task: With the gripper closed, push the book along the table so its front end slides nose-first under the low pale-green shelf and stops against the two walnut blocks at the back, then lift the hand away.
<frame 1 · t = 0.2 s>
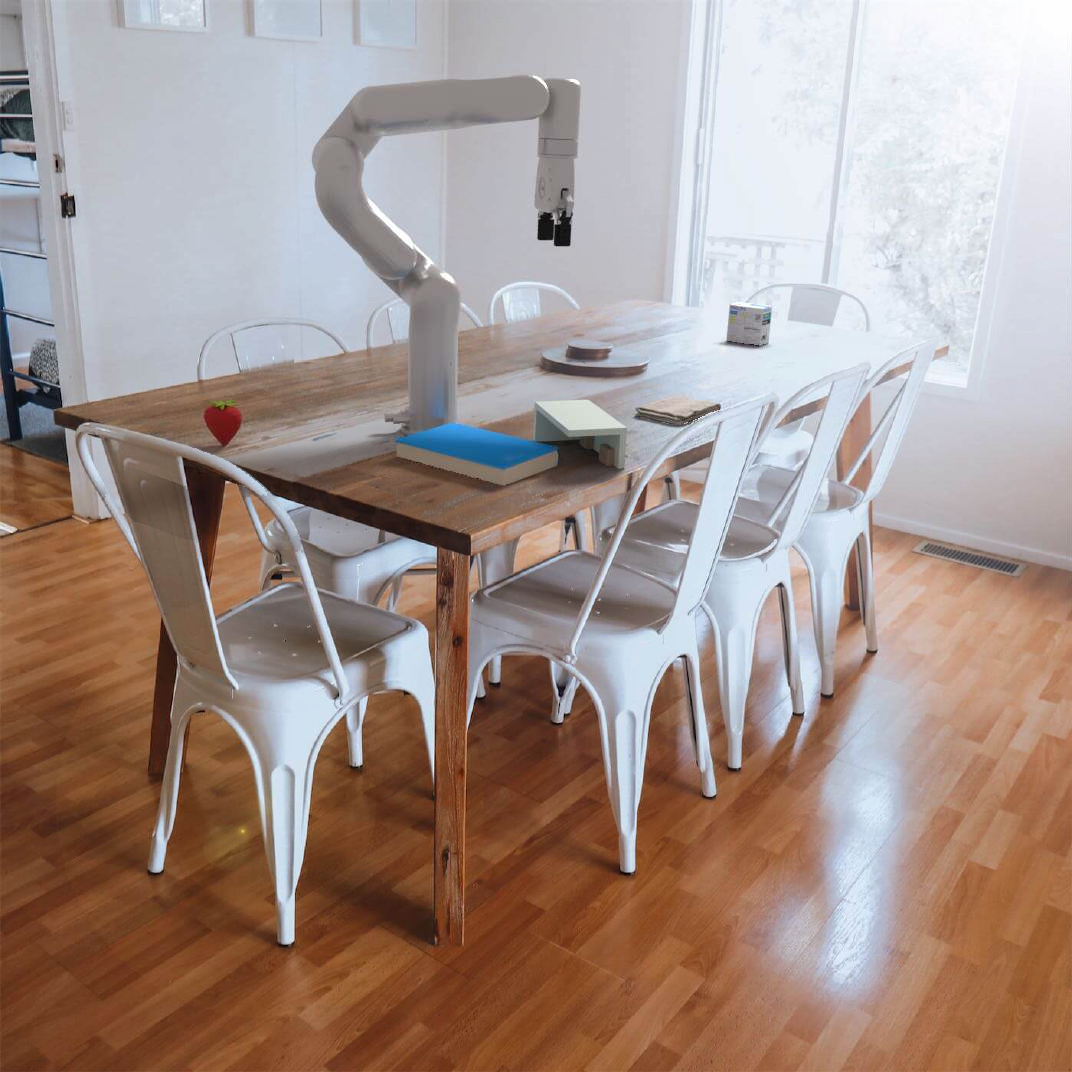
hand: (553, 243, 217), 36 cm above the table, tool pointing down, fingers open, 9 cm apart
book: (477, 464, 207), on the table
washcloth: (677, 417, 244), on the table
light bulb box: (747, 343, 325), on the table
strawberry: (224, 446, 210), on the table
shelf: (577, 454, 213), on the table
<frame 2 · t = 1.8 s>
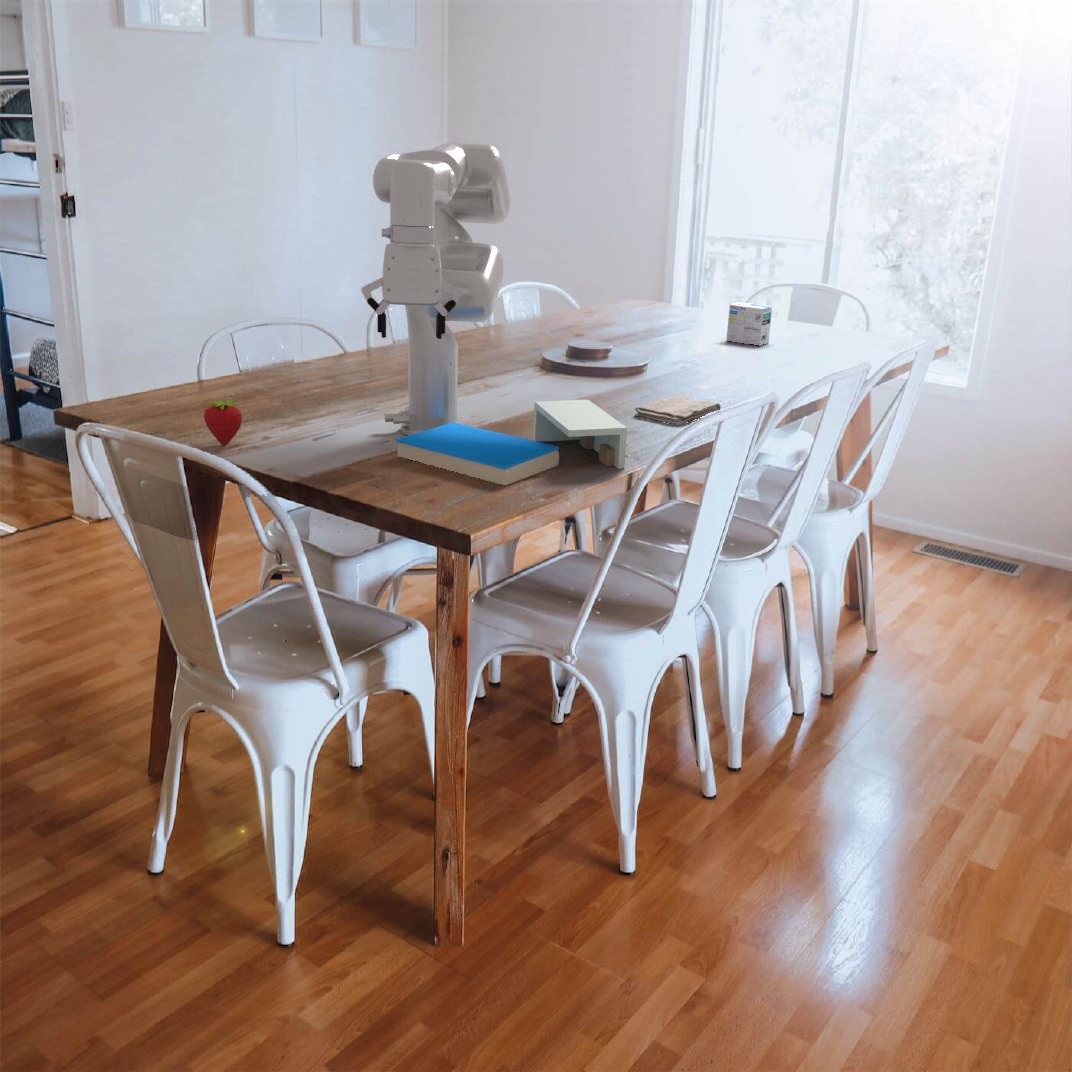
hand: (411, 337, 198), 22 cm above the table, tool pointing down, fingers open, 9 cm apart
nothing on the table moved.
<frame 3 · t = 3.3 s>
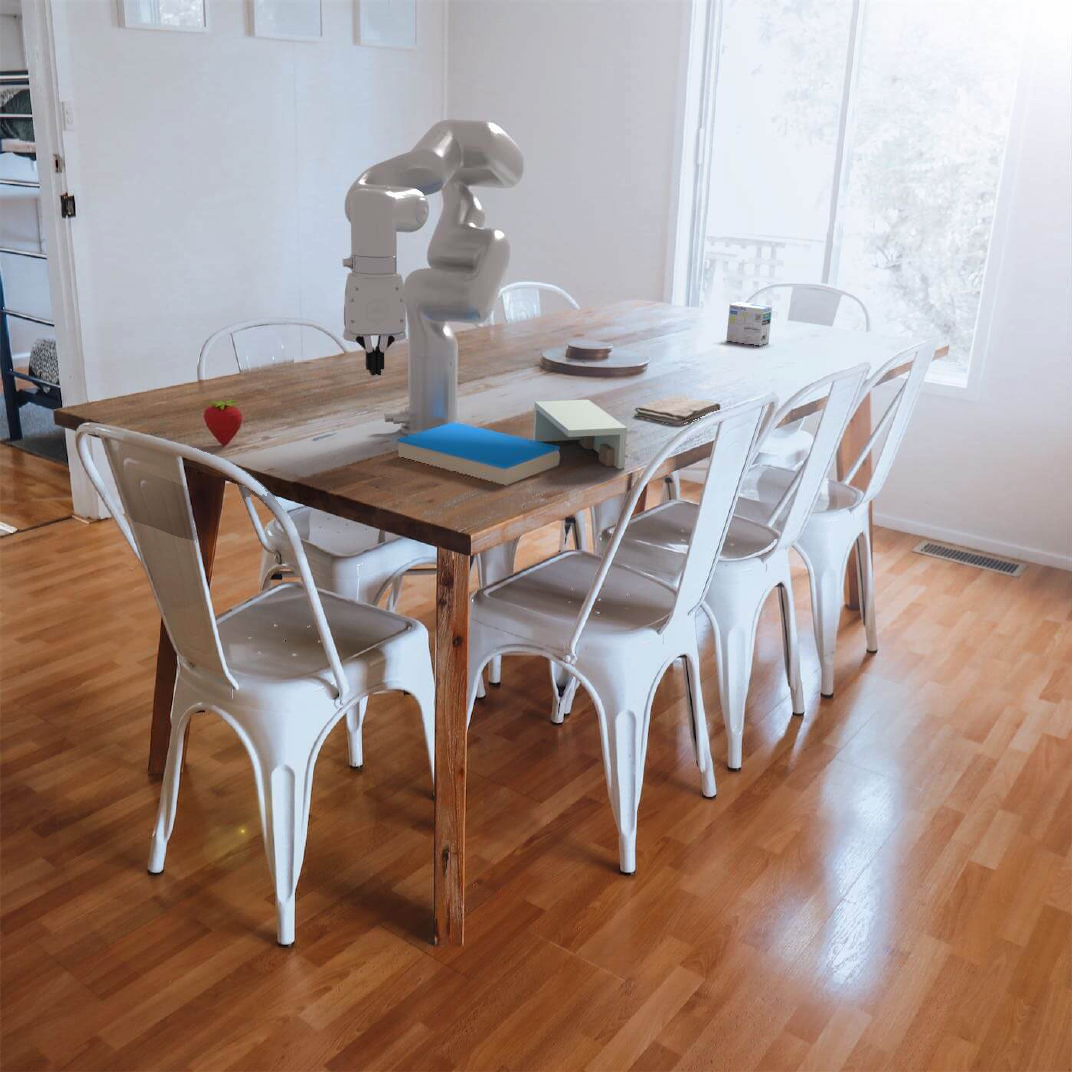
hand: (375, 373, 196), 17 cm above the table, tool pointing down, fingers closed
nothing on the table moved.
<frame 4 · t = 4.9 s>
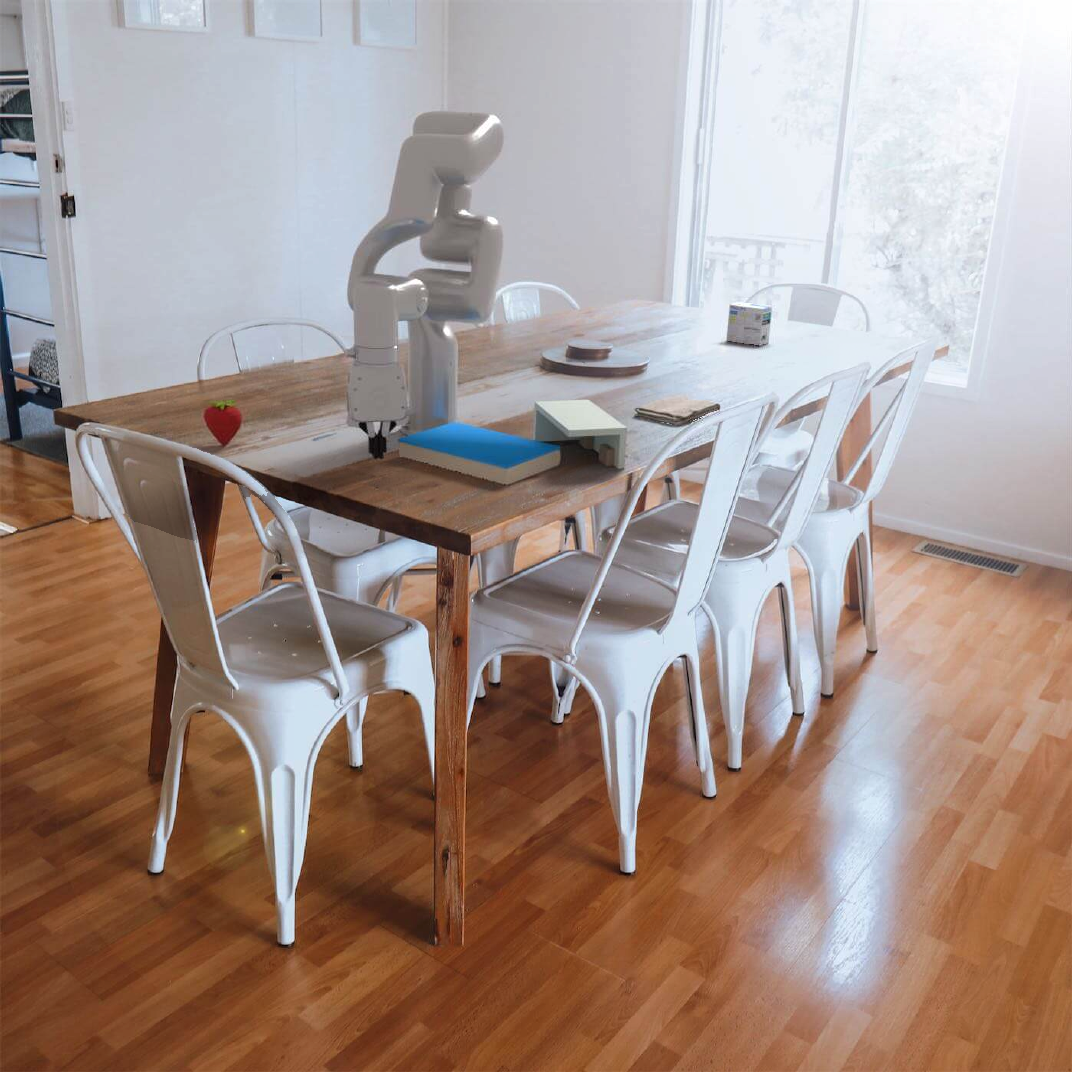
hand: (377, 456, 201), 2 cm above the table, tool pointing down, fingers closed
nothing on the table moved.
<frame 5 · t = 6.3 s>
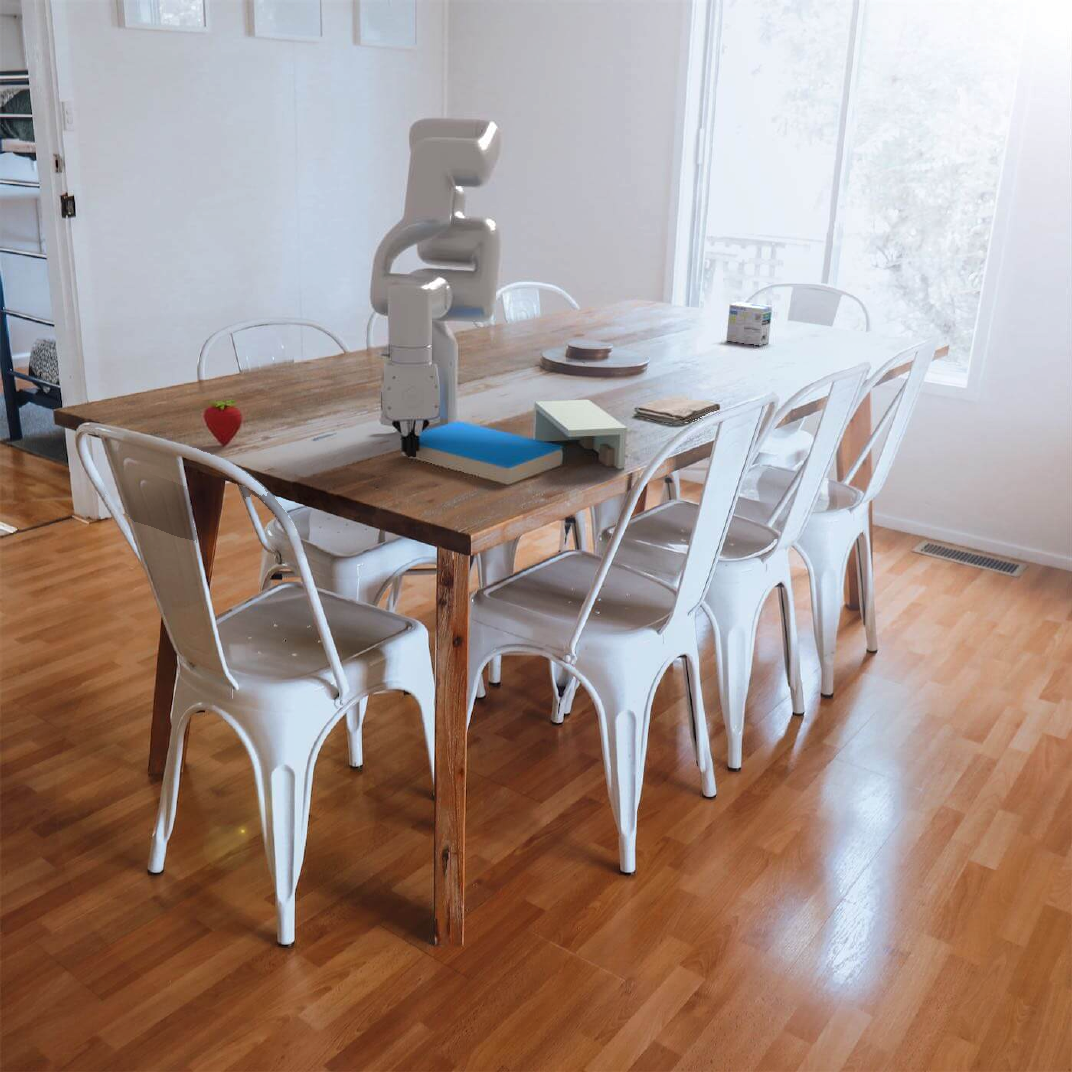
hand: (410, 455, 203), 1 cm above the table, tool pointing down, fingers closed
book: (481, 463, 207), on the table, touching gripper
everything else where it was.
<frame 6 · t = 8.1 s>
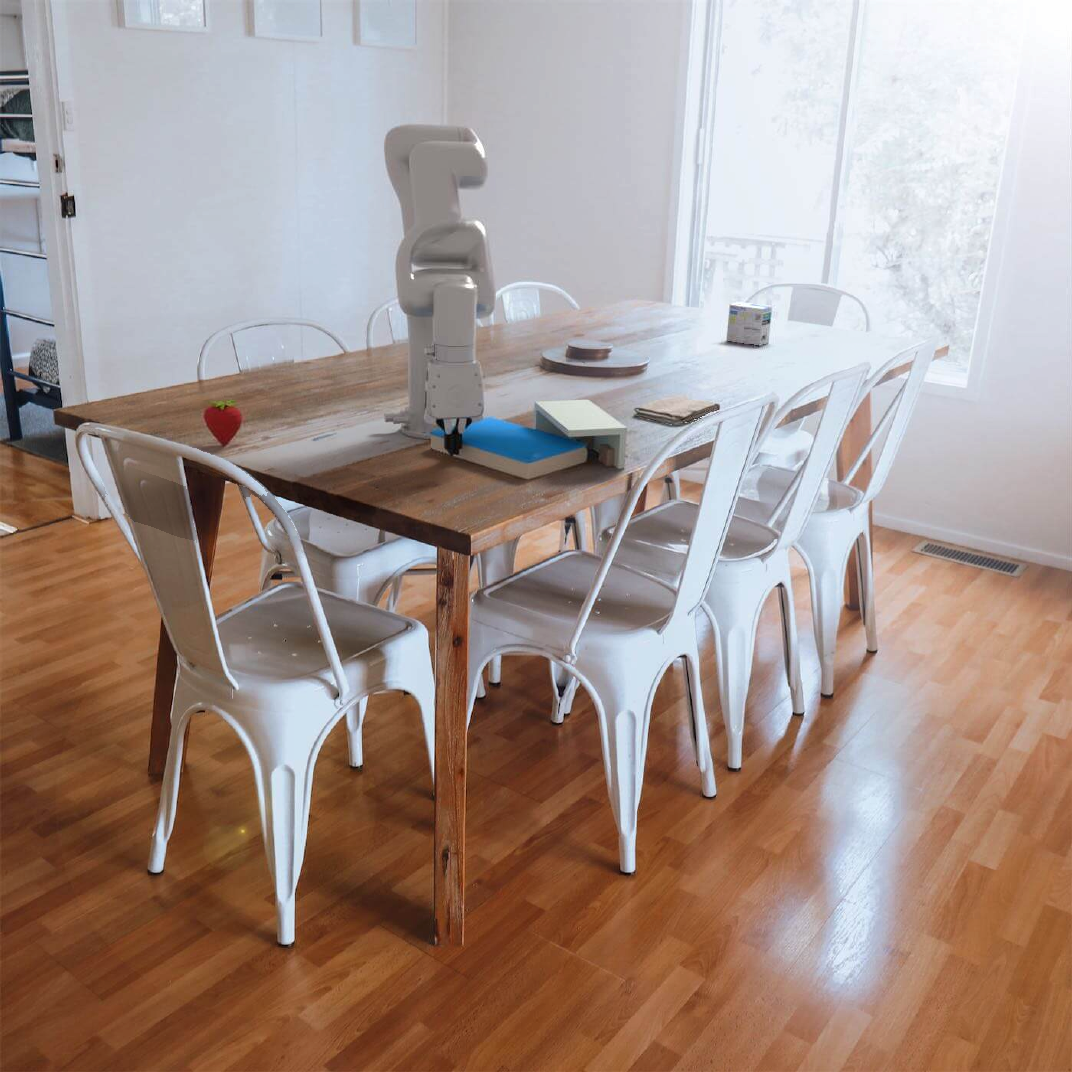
hand: (453, 452, 205), 2 cm above the table, tool pointing down, fingers closed
book: (507, 458, 211), on the table
everything else where it was.
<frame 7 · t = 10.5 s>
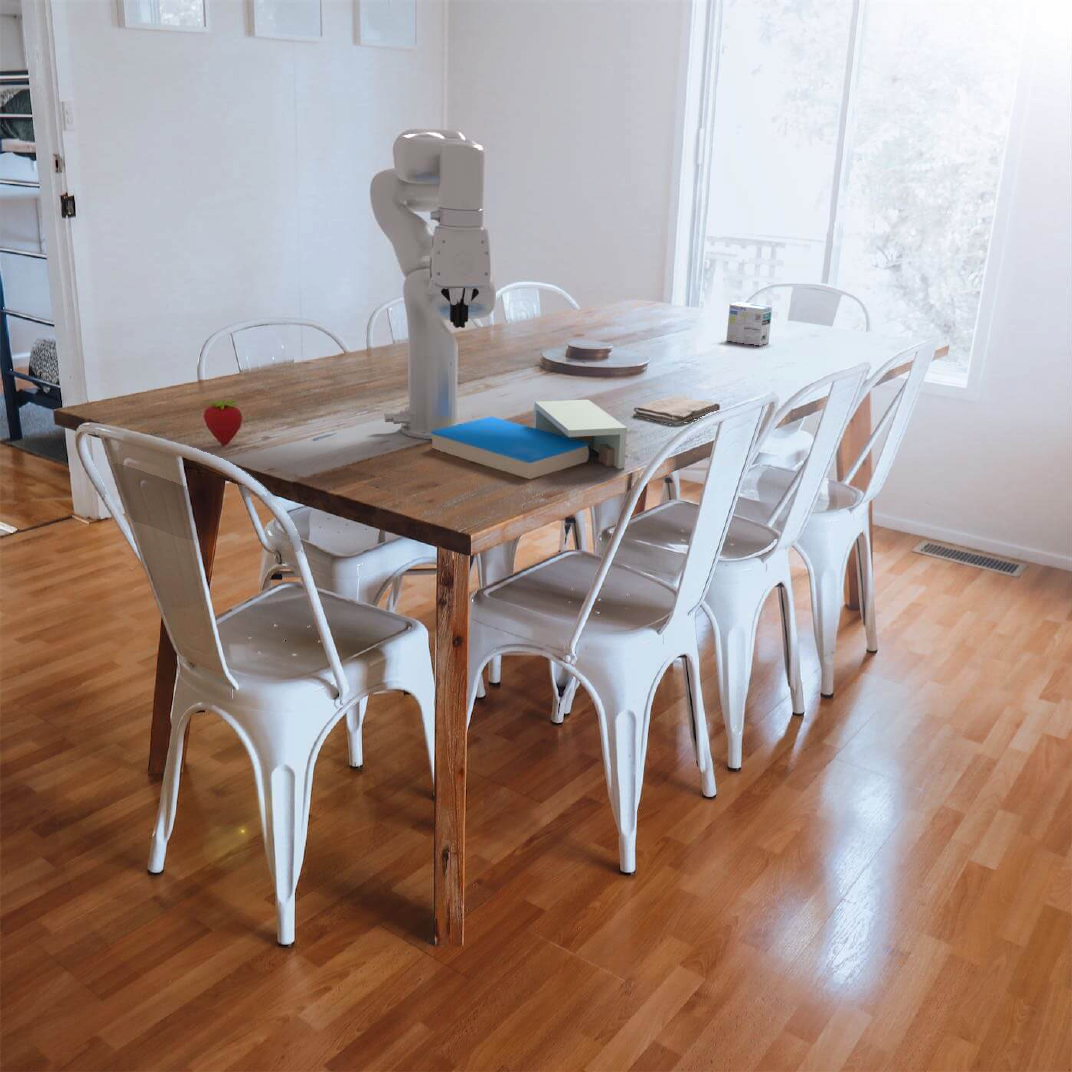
hand: (458, 326, 199), 24 cm above the table, tool pointing down, fingers closed
nothing on the table moved.
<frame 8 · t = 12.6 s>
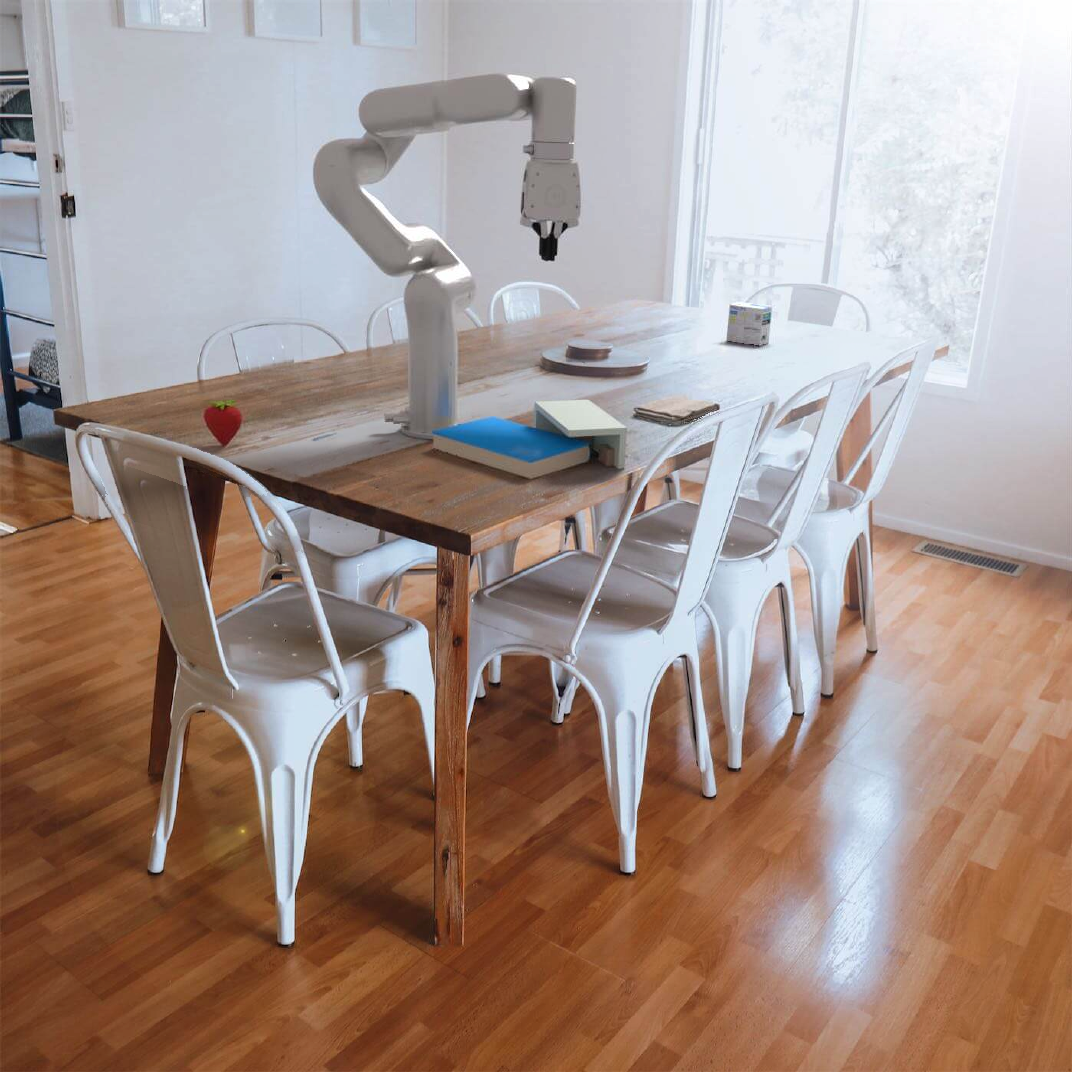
hand: (547, 260, 204), 35 cm above the table, tool pointing down, fingers closed
nothing on the table moved.
at the end: book 3.3 cm from the target spot on the table beside the shelf, on the table; book tilted 0°; book moved 7.9 cm from its start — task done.
